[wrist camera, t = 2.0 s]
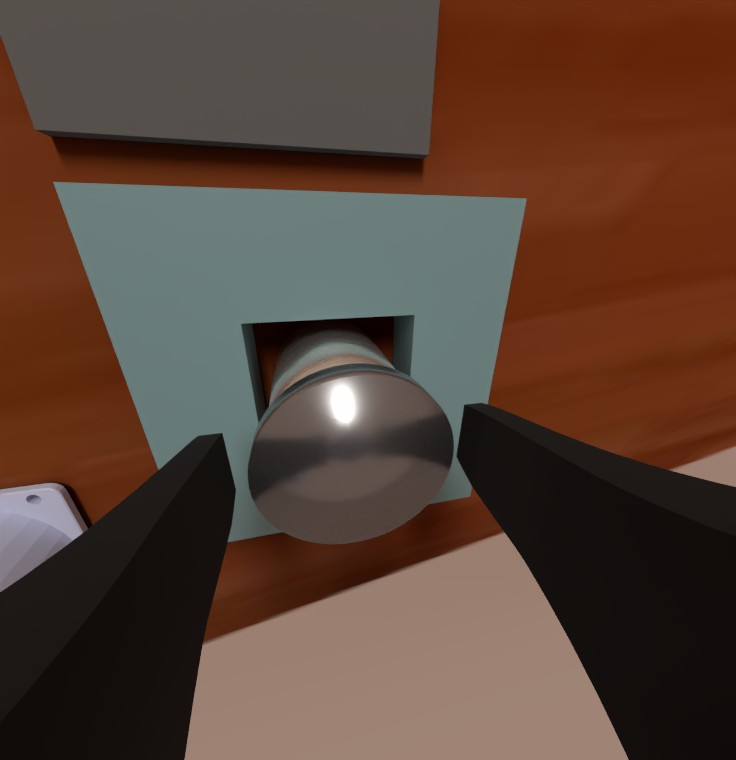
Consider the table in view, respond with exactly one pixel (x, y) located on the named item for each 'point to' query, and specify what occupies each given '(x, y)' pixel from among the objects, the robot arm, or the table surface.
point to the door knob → (345, 440)
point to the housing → (287, 297)
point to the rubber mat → (230, 72)
